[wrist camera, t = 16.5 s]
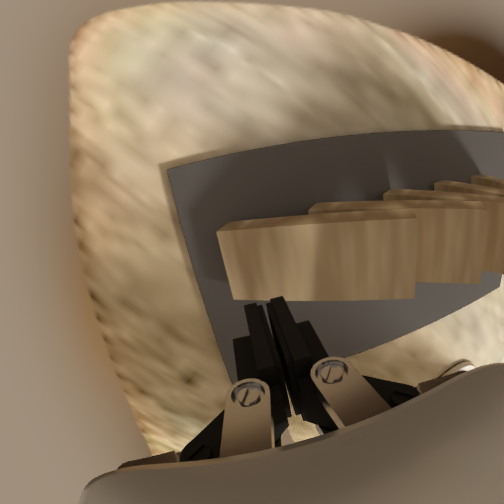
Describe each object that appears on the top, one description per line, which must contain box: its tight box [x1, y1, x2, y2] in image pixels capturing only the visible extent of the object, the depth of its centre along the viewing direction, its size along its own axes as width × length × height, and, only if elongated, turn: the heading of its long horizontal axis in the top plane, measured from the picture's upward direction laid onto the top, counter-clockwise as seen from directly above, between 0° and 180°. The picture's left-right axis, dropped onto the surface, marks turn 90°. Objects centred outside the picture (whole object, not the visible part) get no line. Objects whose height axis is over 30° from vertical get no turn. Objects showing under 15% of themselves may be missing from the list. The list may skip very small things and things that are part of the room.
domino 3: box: [434, 180, 504, 197], centre depth 16 cm, size 2×5×12 cm, turn 11°
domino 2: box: [308, 200, 488, 284], centre depth 17 cm, size 2×5×12 cm
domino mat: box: [167, 130, 504, 385], centre depth 23 cm, size 20×36×1 cm, turn 101°
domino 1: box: [216, 208, 418, 301], centre depth 17 cm, size 2×5×12 cm
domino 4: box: [383, 189, 504, 274], centre depth 16 cm, size 2×5×12 cm
